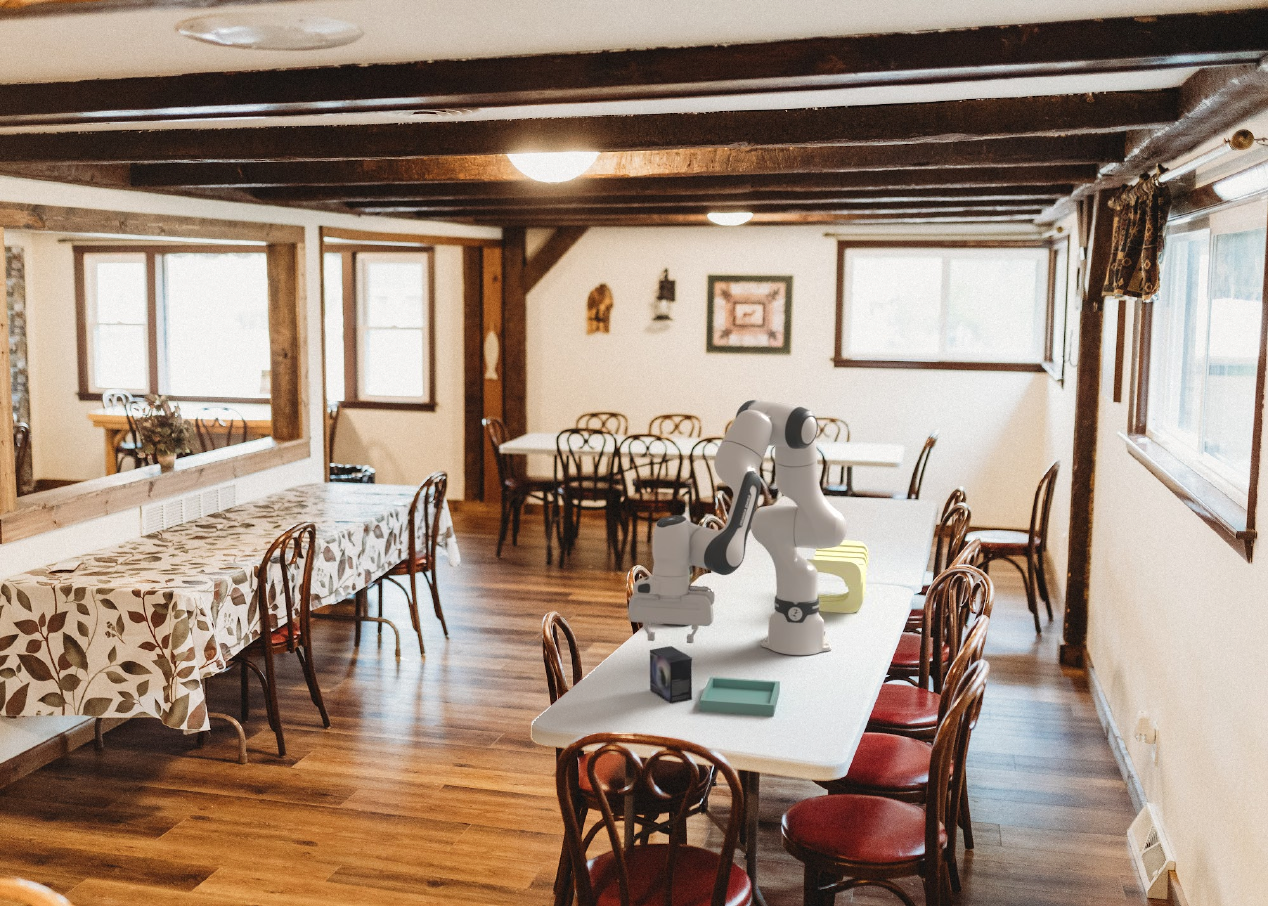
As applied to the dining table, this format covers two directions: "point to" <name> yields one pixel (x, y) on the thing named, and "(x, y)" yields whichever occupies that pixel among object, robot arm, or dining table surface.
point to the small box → (671, 674)
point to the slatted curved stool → (843, 575)
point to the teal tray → (740, 696)
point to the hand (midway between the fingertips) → (670, 641)
